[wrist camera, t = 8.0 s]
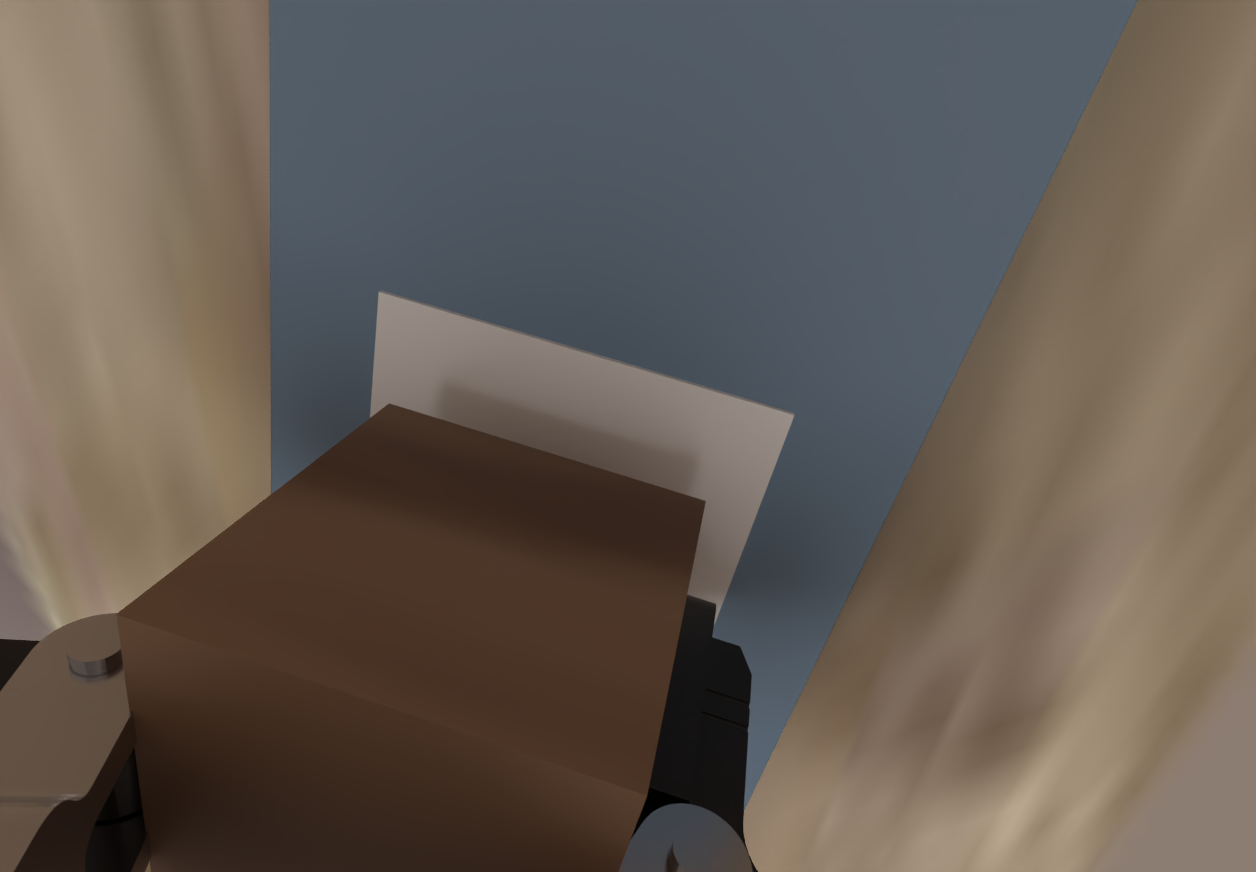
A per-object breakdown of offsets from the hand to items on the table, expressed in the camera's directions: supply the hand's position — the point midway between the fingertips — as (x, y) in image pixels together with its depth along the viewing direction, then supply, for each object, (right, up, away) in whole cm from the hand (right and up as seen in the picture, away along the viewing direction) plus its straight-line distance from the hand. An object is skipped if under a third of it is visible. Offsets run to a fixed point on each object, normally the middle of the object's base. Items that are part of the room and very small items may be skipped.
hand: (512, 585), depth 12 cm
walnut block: (0, 0, 0) cm, 0 cm away
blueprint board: (+1, +1, +2) cm, 3 cm away
